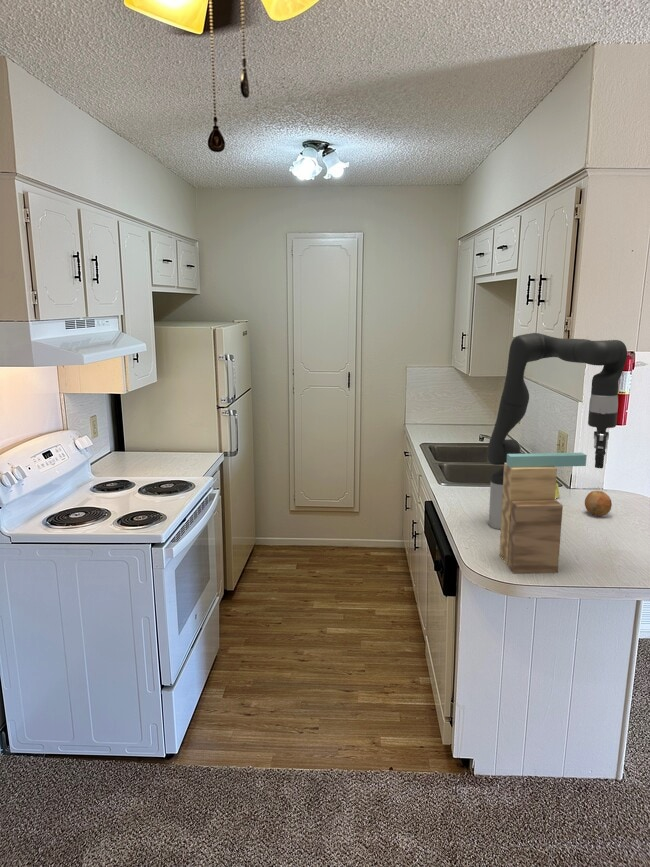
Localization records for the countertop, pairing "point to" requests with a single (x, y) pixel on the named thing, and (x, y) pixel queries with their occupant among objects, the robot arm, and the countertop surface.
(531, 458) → the rail
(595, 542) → the countertop surface
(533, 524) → the step
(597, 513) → the onion
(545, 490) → the stand
